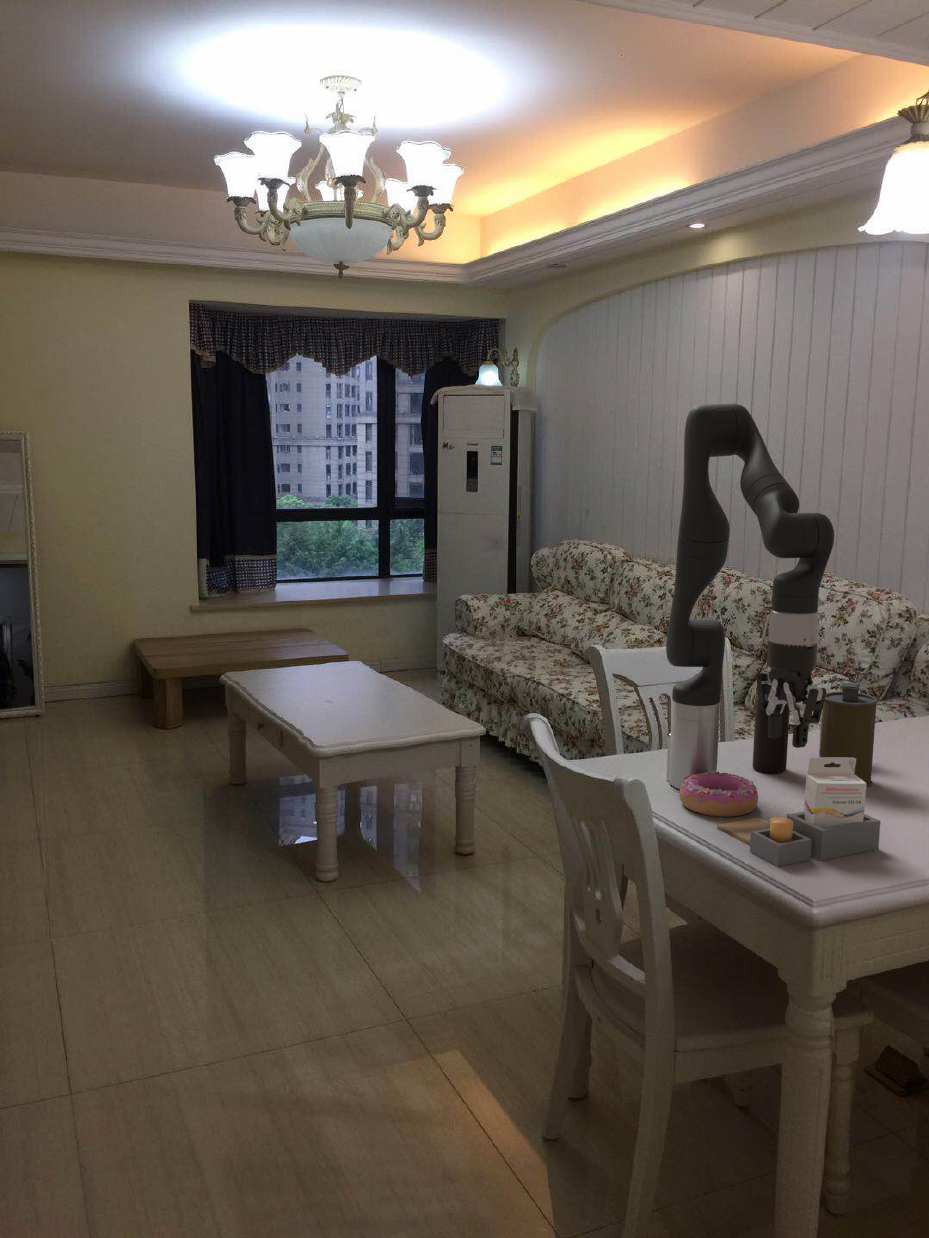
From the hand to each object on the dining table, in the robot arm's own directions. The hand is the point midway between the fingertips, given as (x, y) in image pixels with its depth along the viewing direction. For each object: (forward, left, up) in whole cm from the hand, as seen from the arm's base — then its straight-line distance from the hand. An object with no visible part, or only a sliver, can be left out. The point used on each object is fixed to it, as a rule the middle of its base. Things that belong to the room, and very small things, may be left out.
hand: (786, 741), depth 167 cm
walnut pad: (-10, +3, -19) cm, 22 cm away
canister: (-26, +39, -20) cm, 51 cm away
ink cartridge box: (0, +11, -19) cm, 22 cm away
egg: (0, 0, -17) cm, 17 cm away
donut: (-24, +6, -20) cm, 32 cm away
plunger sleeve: (0, 0, -19) cm, 19 cm away
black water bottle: (-38, +30, -20) cm, 52 cm away
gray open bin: (0, +11, -19) cm, 22 cm away
